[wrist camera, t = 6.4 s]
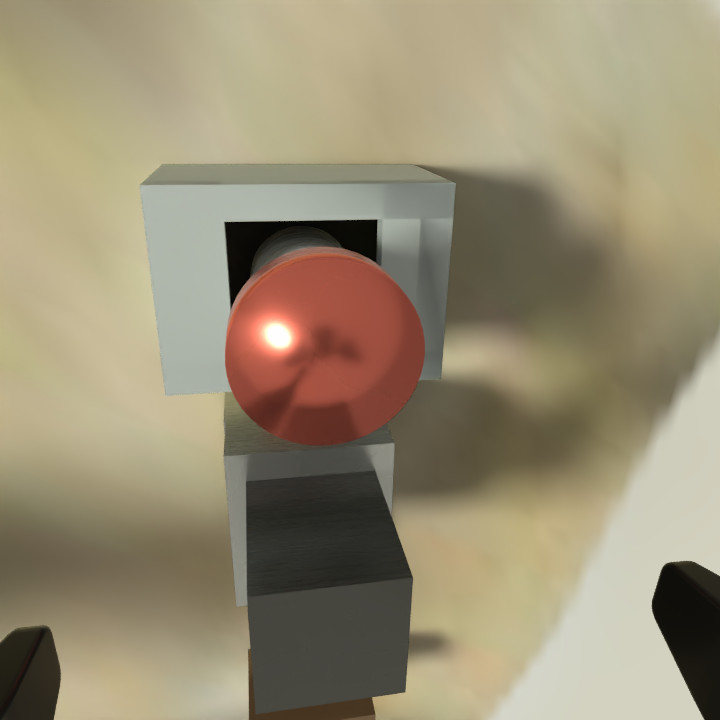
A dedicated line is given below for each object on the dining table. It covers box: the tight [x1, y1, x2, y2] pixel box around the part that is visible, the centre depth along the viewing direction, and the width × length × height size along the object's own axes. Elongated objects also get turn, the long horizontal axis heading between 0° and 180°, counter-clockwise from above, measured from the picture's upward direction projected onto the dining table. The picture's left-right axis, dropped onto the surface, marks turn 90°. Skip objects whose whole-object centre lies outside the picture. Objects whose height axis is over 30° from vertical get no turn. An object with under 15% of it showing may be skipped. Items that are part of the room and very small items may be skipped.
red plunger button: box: [225, 226, 425, 446], centre depth 13 cm, size 4×4×5 cm
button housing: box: [140, 164, 456, 396], centre depth 16 cm, size 5×7×4 cm
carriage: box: [224, 392, 413, 714], centre depth 17 cm, size 5×4×8 cm
